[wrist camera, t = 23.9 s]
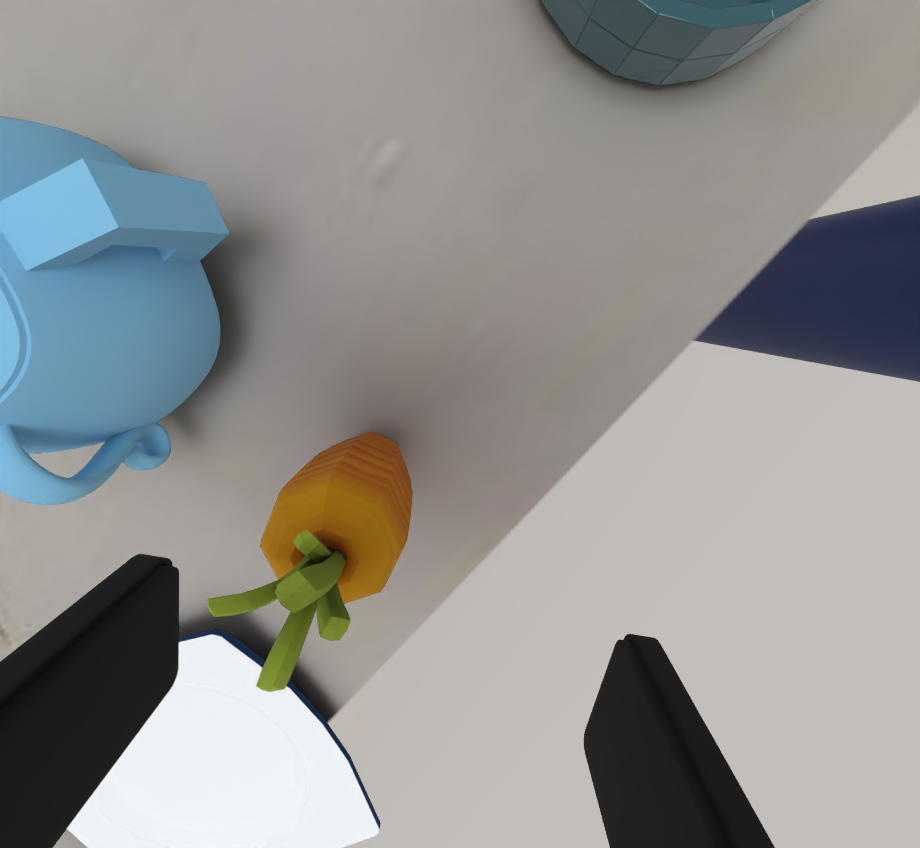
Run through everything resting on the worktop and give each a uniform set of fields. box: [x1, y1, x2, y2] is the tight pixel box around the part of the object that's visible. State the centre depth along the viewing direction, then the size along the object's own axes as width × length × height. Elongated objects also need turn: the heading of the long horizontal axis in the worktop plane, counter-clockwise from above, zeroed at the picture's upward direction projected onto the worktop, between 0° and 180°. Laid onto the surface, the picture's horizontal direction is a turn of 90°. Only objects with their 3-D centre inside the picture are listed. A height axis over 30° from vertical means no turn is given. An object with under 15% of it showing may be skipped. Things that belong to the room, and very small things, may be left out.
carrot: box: [207, 432, 412, 692], centre depth 18 cm, size 5×5×15 cm
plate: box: [67, 629, 380, 848], centre depth 30 cm, size 20×20×3 cm
